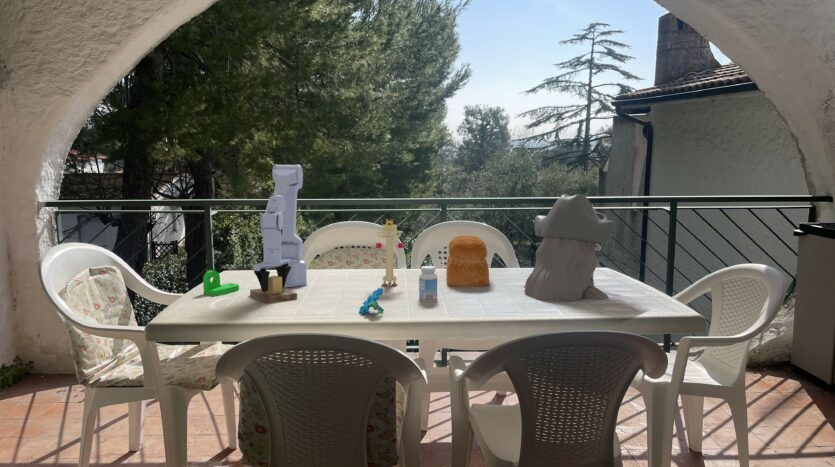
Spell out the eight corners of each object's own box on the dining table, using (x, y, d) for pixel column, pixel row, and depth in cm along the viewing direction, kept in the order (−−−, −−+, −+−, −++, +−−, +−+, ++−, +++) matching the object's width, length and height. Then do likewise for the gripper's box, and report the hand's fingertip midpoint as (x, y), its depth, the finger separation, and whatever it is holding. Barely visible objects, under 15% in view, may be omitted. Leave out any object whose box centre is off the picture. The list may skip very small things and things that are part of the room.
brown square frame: (281, 291, 209) (280, 286, 209) (297, 299, 198) (297, 293, 198) (250, 295, 203) (250, 289, 203) (265, 303, 192) (265, 297, 191)
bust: (631, 294, 208) (636, 194, 204) (587, 312, 183) (591, 198, 179) (546, 281, 231) (549, 190, 227) (496, 295, 206) (498, 194, 202)
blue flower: (356, 306, 184) (378, 282, 185) (370, 318, 186) (392, 295, 186) (358, 315, 174) (381, 290, 174) (373, 328, 175) (396, 303, 175)
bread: (446, 288, 216) (447, 241, 214) (445, 275, 242) (446, 233, 240) (490, 289, 216) (491, 242, 214) (484, 275, 242) (485, 233, 240)
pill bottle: (439, 299, 199) (439, 266, 198) (434, 303, 194) (434, 269, 192) (422, 297, 201) (422, 264, 200) (416, 301, 196) (416, 267, 194)
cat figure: (375, 287, 217) (375, 219, 214) (376, 282, 225) (376, 217, 222) (403, 287, 217) (403, 219, 214) (403, 282, 226) (403, 217, 223)
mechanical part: (215, 296, 202) (214, 273, 201) (203, 294, 205) (202, 271, 204) (242, 290, 212) (242, 268, 211) (231, 288, 215) (230, 266, 214)
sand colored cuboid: (274, 295, 203) (273, 275, 202) (282, 297, 201) (282, 276, 200) (265, 297, 200) (264, 277, 199) (273, 299, 198) (272, 278, 197)
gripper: (280, 245, 207) (281, 283, 208) (246, 250, 195) (248, 291, 196) (294, 247, 203) (295, 286, 204) (261, 252, 191) (262, 293, 192)
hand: (273, 288), depth 200 cm, fingers open, 7 cm apart
